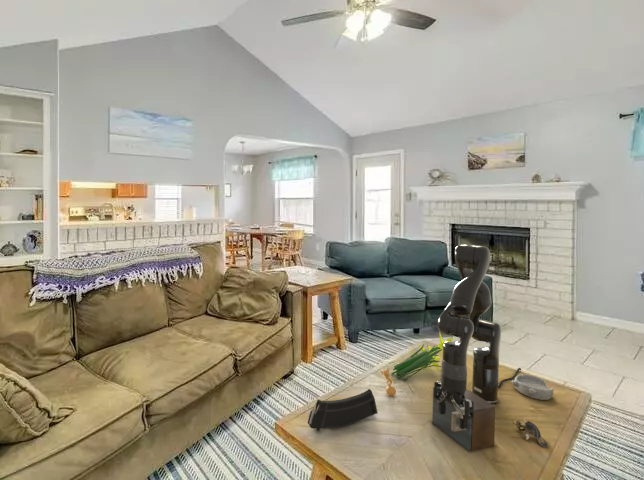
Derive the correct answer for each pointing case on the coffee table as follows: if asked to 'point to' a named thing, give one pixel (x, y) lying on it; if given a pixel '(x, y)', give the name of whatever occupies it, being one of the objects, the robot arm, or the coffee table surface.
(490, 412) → the cupboard
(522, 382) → the dish
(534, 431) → the animal figure
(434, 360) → the daffodil flowers
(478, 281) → the robot arm
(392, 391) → the figurine
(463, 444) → the cupboard door
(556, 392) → the coffee table surface
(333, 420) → the magazine
